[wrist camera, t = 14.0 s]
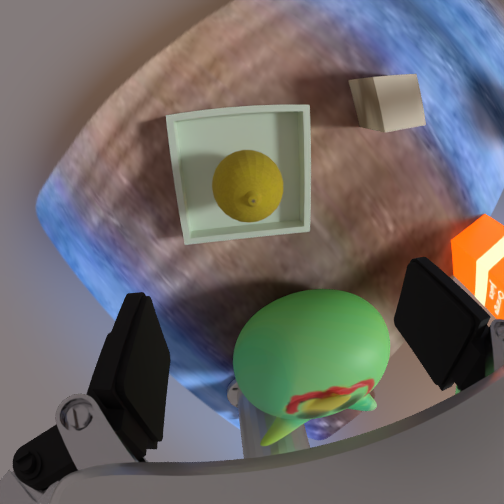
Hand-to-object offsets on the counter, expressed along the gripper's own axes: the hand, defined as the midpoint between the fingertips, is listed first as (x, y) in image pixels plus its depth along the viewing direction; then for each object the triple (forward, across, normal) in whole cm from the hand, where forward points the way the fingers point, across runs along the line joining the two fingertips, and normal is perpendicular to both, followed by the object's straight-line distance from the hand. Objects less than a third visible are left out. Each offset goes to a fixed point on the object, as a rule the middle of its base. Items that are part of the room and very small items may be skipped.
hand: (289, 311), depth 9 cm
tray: (+19, 0, -1) cm, 19 cm away
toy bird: (+20, -6, +19) cm, 28 cm away
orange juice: (+20, -35, +11) cm, 42 cm away
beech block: (+19, -14, -8) cm, 25 cm away
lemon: (+18, 0, -1) cm, 19 cm away
